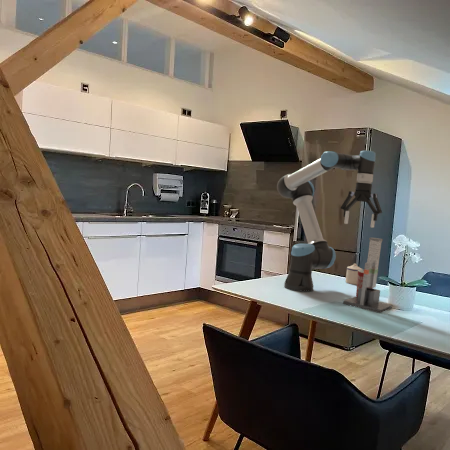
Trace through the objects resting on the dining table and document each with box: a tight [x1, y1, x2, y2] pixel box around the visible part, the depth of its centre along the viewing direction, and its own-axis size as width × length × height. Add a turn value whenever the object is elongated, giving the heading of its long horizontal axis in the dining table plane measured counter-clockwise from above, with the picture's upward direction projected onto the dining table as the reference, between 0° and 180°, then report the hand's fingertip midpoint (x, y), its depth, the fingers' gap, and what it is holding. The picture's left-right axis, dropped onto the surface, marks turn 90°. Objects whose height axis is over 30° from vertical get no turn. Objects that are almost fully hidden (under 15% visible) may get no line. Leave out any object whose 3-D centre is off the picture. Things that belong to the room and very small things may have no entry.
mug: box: [355, 269, 374, 297], centre depth 236 cm, size 13×9×14 cm
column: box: [366, 237, 383, 289], centre depth 215 cm, size 5×5×23 cm
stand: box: [342, 262, 393, 314], centre depth 215 cm, size 18×15×21 cm
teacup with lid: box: [345, 263, 363, 286], centre depth 273 cm, size 12×9×12 cm
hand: (358, 225), depth 226 cm, fingers open, 13 cm apart
